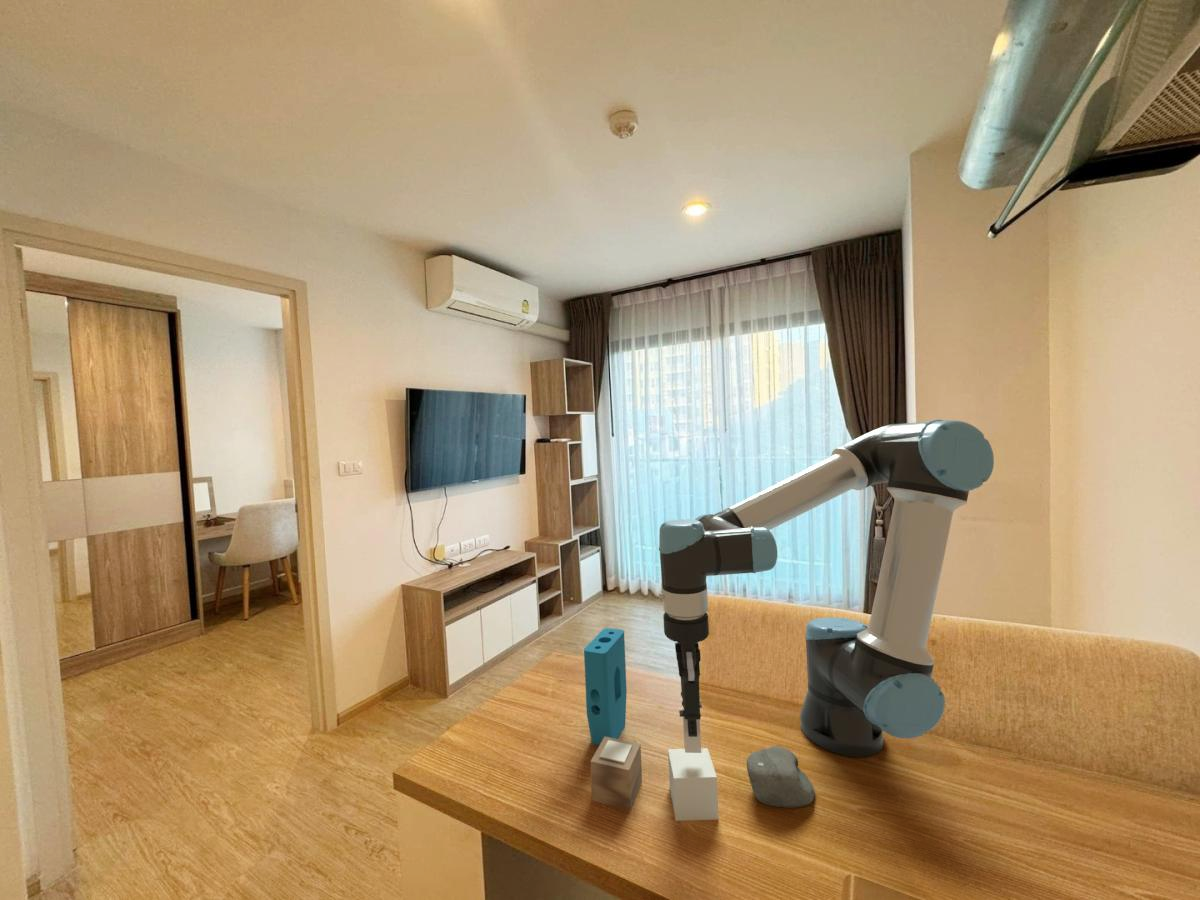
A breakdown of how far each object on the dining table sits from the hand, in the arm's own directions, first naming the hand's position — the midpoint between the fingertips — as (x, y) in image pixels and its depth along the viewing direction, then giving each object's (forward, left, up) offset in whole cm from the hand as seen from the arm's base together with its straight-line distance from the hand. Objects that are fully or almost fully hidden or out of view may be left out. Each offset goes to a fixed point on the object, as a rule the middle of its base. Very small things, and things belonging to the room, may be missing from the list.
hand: (692, 749), depth 77 cm
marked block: (+13, -2, -9) cm, 16 cm away
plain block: (0, 0, -9) cm, 9 cm away
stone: (-15, -3, -9) cm, 18 cm away
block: (+16, -18, -9) cm, 26 cm away
